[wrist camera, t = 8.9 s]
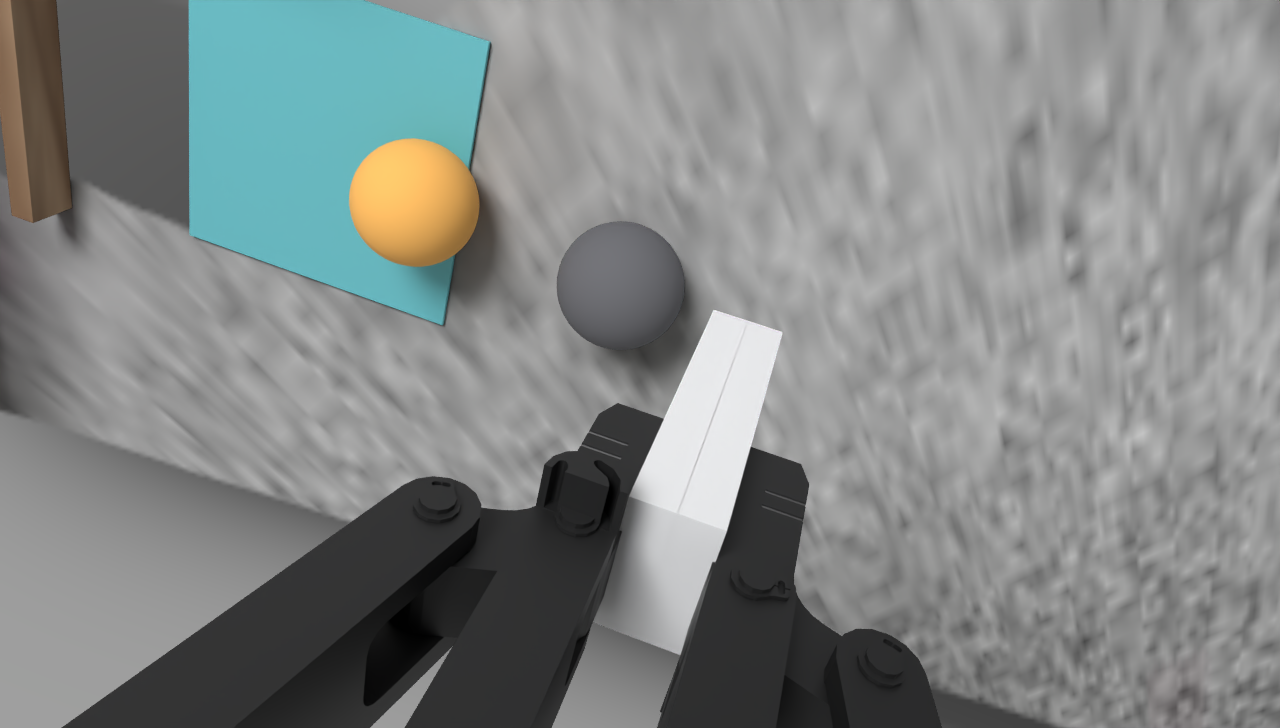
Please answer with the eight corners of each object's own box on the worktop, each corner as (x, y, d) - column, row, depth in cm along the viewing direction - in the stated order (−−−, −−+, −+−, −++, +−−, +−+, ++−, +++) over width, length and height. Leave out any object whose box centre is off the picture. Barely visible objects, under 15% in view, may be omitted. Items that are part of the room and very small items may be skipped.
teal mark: (490, 41, 37) (488, 42, 37) (443, 323, 44) (442, 325, 44) (191, -57, 38) (188, -57, 38) (192, 233, 46) (189, 235, 45)
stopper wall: (46, -130, 39) (-3, -131, 36) (72, 207, 47) (33, 222, 44) (21, -138, 39) (-29, -139, 36) (51, 200, 47) (11, 215, 44)
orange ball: (464, 182, 35) (332, 139, 35) (442, 303, 38) (319, 262, 38) (506, 147, 40) (389, 109, 40) (484, 256, 42) (375, 220, 42)
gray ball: (571, 252, 34) (560, 194, 38) (554, 371, 37) (545, 304, 41) (709, 263, 35) (682, 206, 40) (682, 378, 38) (660, 312, 42)
